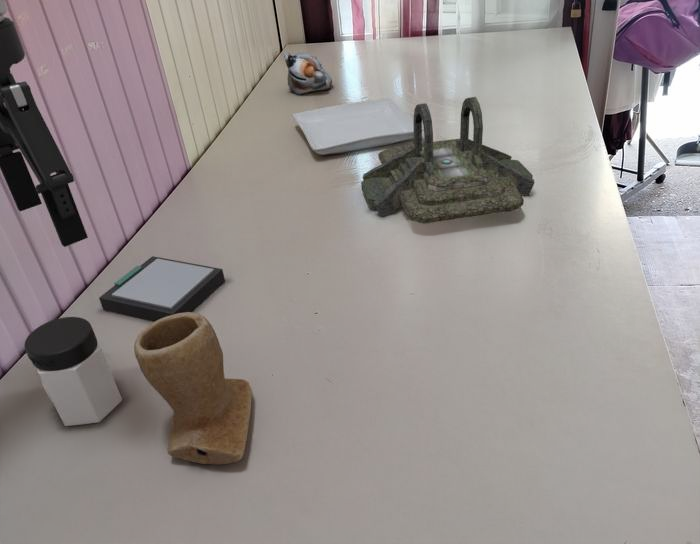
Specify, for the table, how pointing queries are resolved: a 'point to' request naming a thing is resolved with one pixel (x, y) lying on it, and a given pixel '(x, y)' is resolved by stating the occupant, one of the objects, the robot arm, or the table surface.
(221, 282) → the scale
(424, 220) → the grey stone stepped platform
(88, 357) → the jar
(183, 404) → the clay smoking pipe
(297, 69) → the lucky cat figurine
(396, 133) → the square plate
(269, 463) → the table surface
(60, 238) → the robot arm
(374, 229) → the table surface
